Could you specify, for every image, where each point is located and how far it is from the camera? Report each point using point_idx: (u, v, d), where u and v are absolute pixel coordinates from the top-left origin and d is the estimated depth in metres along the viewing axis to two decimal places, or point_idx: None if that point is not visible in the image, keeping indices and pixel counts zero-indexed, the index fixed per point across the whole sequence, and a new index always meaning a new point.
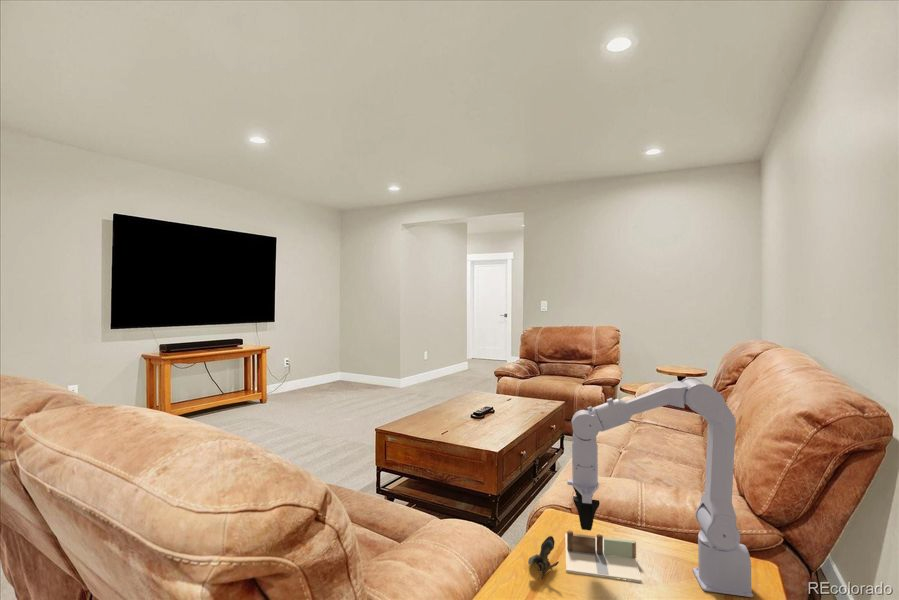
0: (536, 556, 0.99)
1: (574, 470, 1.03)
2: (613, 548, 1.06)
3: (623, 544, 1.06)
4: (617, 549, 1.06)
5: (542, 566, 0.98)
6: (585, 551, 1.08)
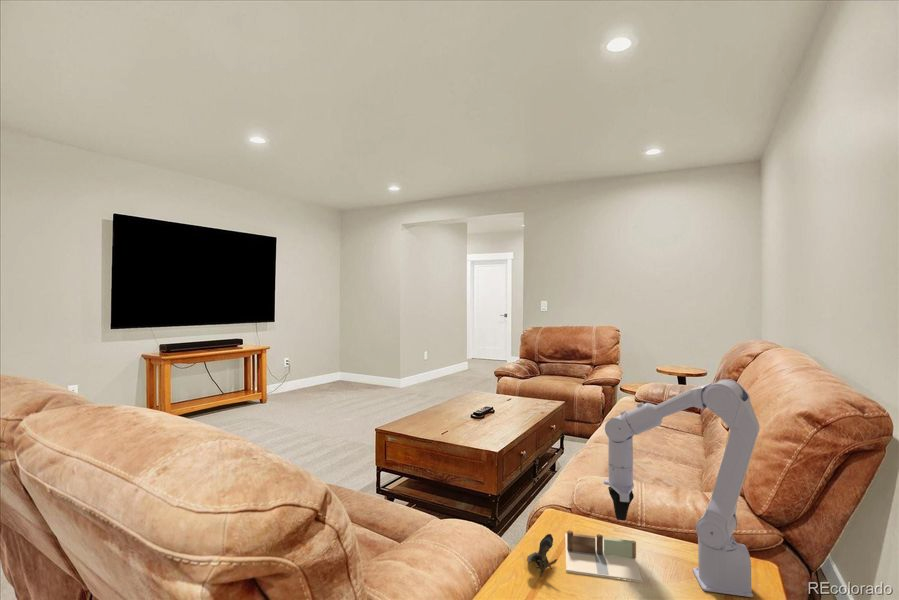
0: (535, 554, 1.00)
1: (611, 471, 1.10)
2: (613, 548, 1.06)
3: (623, 544, 1.06)
4: (617, 549, 1.06)
5: (541, 564, 0.99)
6: (585, 551, 1.08)
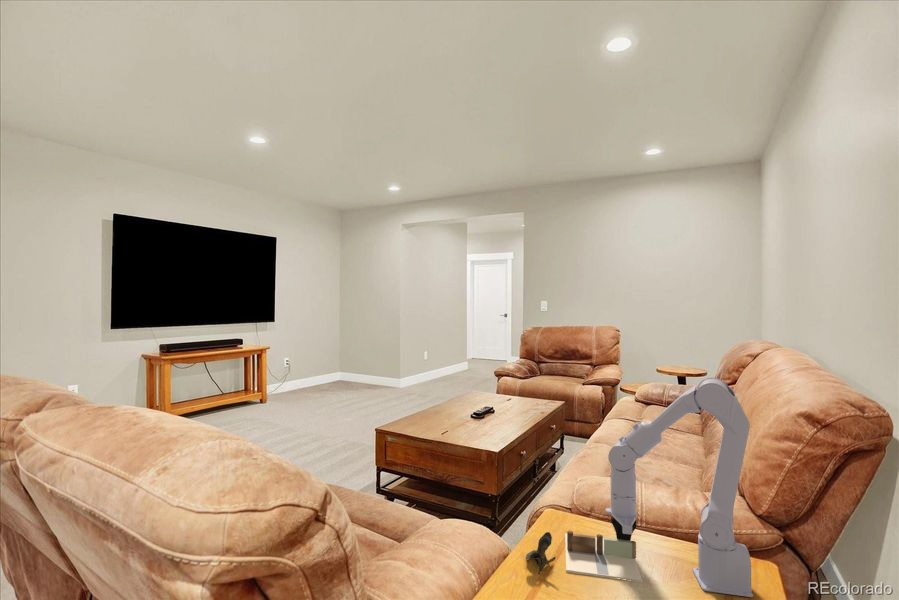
0: (533, 552, 1.01)
1: (613, 500, 1.06)
2: (613, 548, 1.06)
3: (623, 544, 1.06)
4: (617, 549, 1.06)
5: (539, 561, 1.00)
6: (585, 551, 1.08)
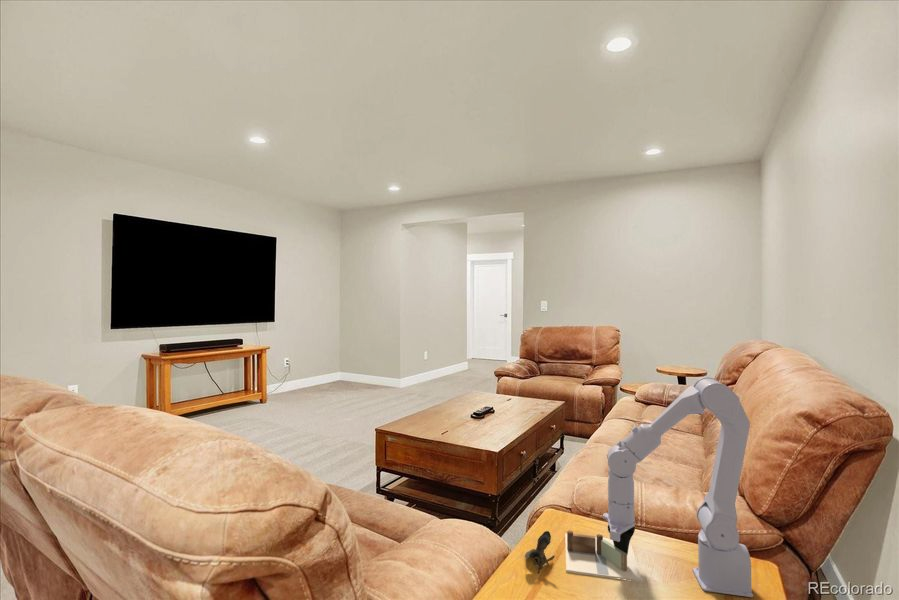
0: (533, 550, 1.02)
1: (608, 505, 1.03)
2: (607, 552, 1.05)
3: (614, 552, 1.02)
4: (610, 555, 1.04)
5: (538, 560, 1.00)
6: (585, 551, 1.08)
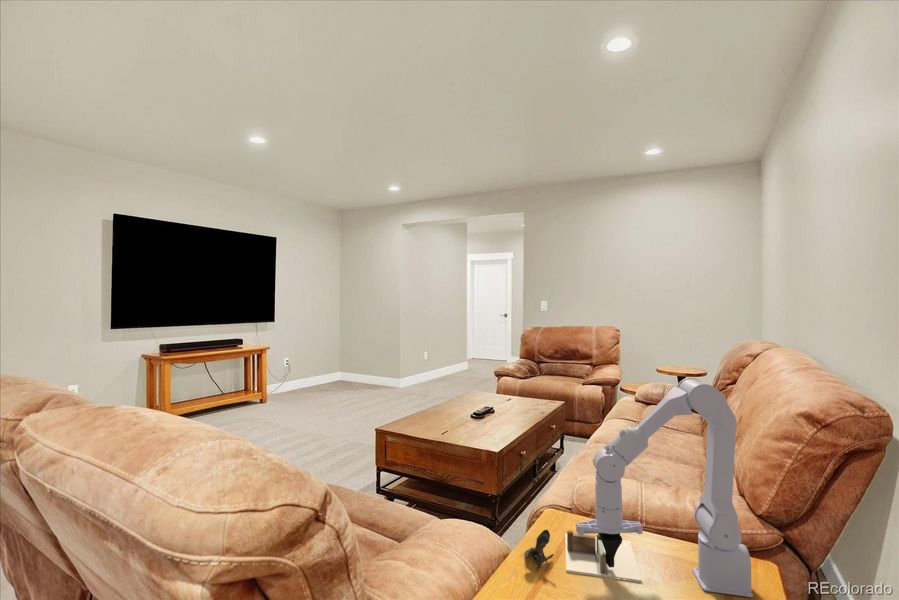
0: (531, 549, 1.02)
1: None
2: (598, 552, 1.05)
3: (599, 552, 1.02)
4: None
5: (537, 558, 1.01)
6: (585, 551, 1.08)
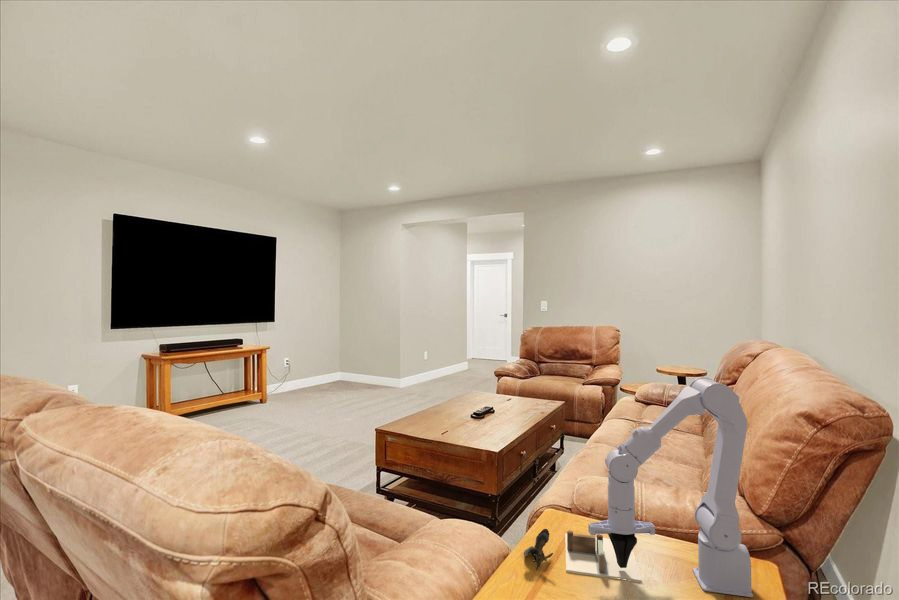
0: (531, 548, 1.03)
1: None
2: None
3: (598, 551, 1.03)
4: (598, 554, 1.04)
5: (537, 557, 1.02)
6: (585, 551, 1.08)
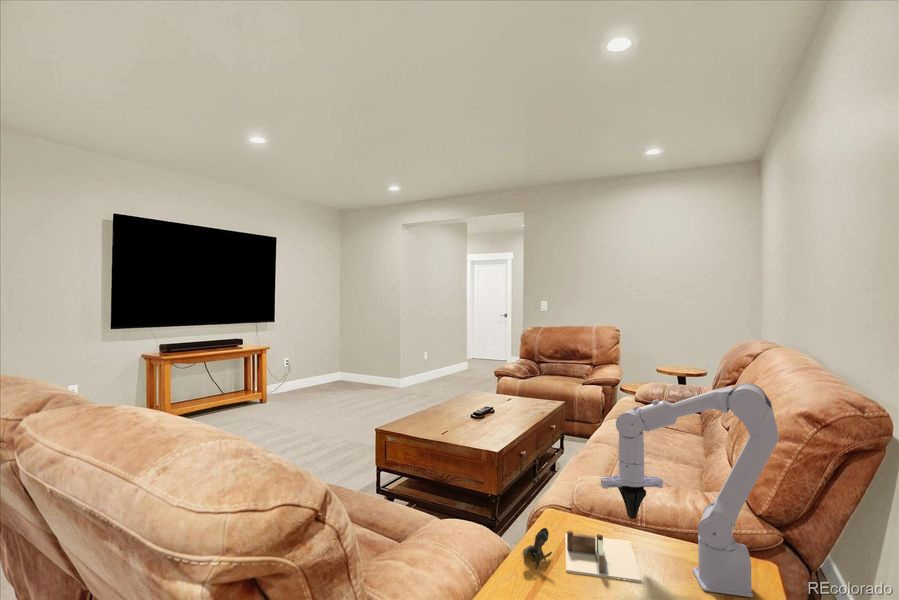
0: (530, 547, 1.03)
1: None
2: None
3: (598, 551, 1.03)
4: (598, 554, 1.04)
5: (536, 556, 1.02)
6: (585, 551, 1.08)
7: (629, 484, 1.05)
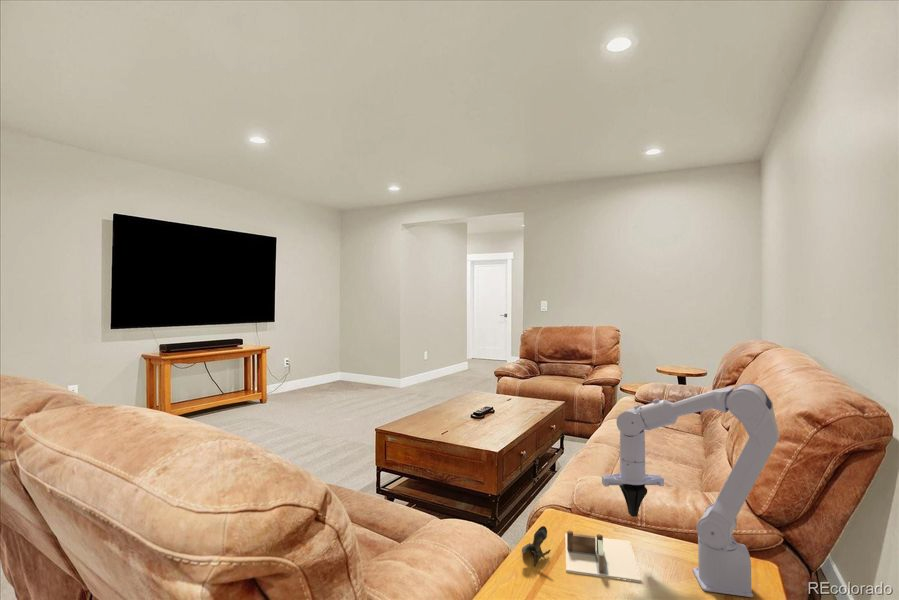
0: (529, 545, 1.04)
1: None
2: None
3: (598, 551, 1.03)
4: (598, 554, 1.04)
5: (535, 554, 1.03)
6: (585, 551, 1.08)
7: (630, 482, 1.06)
